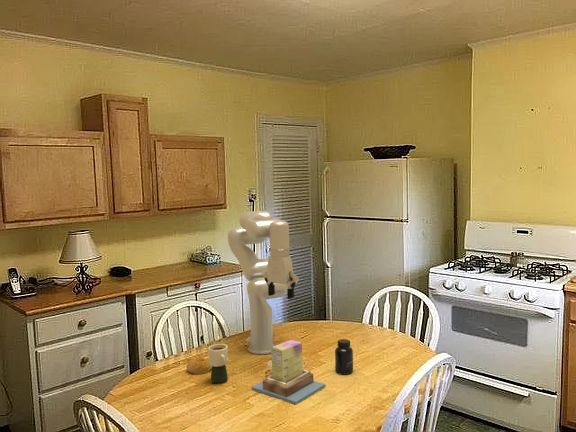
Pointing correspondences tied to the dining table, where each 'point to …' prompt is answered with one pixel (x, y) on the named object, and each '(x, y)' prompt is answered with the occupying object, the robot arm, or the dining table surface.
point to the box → (287, 360)
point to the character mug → (218, 362)
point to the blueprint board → (295, 397)
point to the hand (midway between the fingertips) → (281, 296)
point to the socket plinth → (288, 384)
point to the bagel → (199, 366)
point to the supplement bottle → (344, 357)
